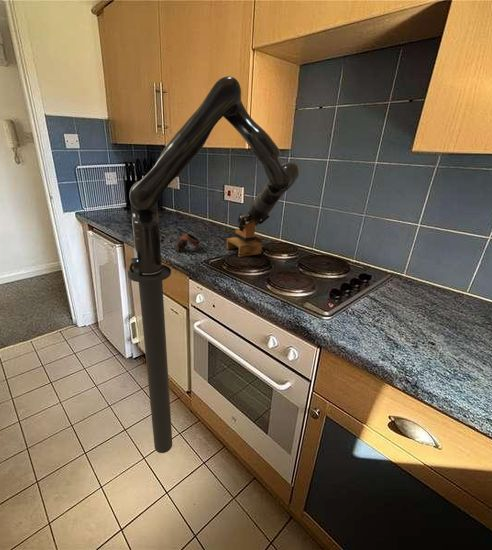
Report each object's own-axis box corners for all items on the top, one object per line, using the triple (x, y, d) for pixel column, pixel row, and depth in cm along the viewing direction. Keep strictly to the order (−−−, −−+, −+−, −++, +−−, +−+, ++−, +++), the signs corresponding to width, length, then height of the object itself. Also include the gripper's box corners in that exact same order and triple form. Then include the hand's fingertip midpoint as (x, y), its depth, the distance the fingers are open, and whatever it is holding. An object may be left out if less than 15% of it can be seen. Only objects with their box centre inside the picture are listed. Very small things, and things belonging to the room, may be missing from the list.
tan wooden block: (239, 257, 127) (240, 241, 124) (226, 248, 137) (226, 233, 134) (261, 253, 132) (262, 238, 129) (247, 245, 142) (247, 231, 139)
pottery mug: (179, 246, 140) (188, 231, 138) (195, 258, 138) (204, 243, 136) (167, 247, 128) (177, 231, 126) (185, 260, 127) (194, 243, 125)
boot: (254, 240, 129) (255, 217, 125) (245, 241, 127) (246, 218, 123) (243, 235, 137) (244, 213, 133) (234, 236, 135) (235, 214, 131)
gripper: (274, 195, 120) (256, 219, 134) (243, 197, 113) (227, 222, 128) (281, 211, 117) (261, 234, 132) (250, 214, 111) (233, 237, 126)
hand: (245, 228), depth 130 cm, fingers closed on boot, 4 cm apart
